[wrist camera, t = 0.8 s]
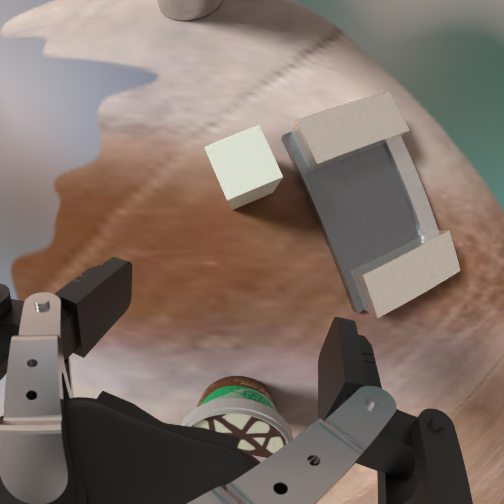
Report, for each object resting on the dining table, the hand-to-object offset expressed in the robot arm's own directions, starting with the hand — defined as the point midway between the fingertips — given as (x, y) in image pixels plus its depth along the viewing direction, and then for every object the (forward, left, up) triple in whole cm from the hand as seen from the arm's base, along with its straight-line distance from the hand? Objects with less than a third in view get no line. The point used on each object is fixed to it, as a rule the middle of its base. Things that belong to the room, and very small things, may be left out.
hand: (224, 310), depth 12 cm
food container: (+15, -6, -25) cm, 30 cm away
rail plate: (0, +17, -25) cm, 30 cm away
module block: (-8, +4, -25) cm, 26 cm away
